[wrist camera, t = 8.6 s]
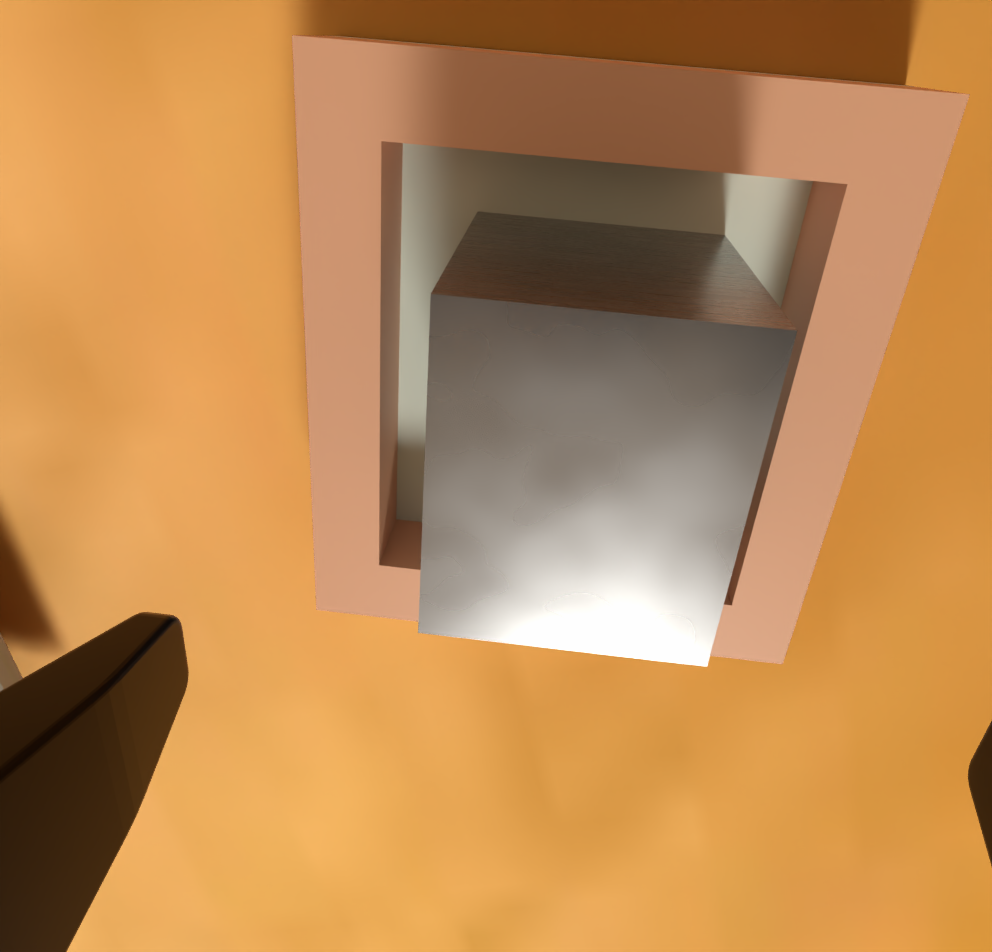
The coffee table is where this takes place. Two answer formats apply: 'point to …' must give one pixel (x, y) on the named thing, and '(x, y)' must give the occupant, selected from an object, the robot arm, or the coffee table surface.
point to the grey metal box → (593, 435)
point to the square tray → (600, 199)
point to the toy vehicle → (7, 667)
